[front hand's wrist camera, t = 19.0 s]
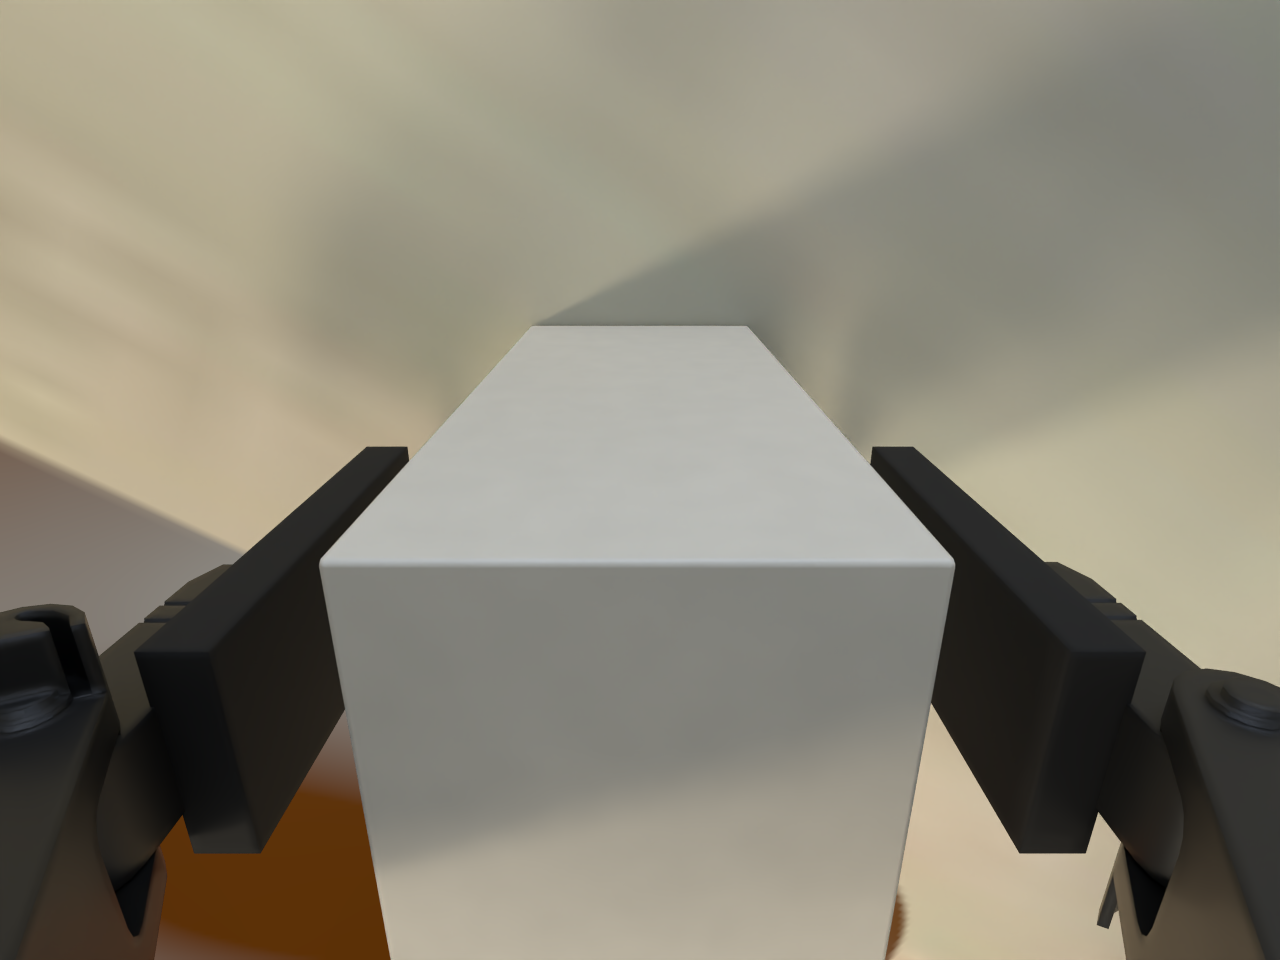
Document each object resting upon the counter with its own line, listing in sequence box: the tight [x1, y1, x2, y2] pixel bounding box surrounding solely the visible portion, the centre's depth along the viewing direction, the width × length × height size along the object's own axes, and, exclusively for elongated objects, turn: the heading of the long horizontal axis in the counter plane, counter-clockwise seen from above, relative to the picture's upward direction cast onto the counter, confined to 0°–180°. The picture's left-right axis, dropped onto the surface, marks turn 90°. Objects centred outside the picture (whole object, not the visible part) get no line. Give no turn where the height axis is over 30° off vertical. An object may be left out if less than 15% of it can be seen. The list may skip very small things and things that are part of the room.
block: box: [319, 326, 955, 960], centre depth 12 cm, size 6×5×12 cm
